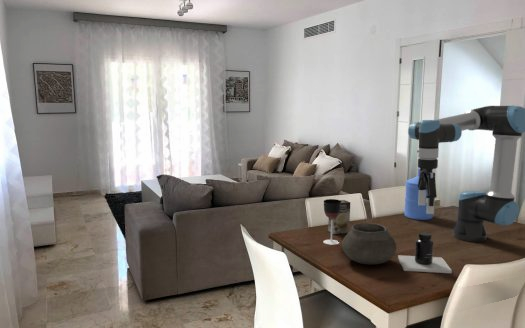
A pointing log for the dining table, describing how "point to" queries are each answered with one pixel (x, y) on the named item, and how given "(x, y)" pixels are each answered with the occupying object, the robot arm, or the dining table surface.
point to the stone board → (435, 266)
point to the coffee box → (341, 219)
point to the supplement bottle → (424, 249)
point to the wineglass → (332, 215)
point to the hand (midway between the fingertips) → (425, 209)
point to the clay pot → (369, 244)
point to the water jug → (415, 201)
